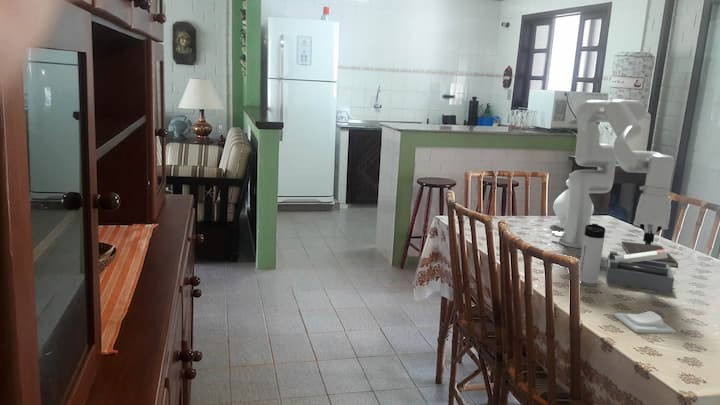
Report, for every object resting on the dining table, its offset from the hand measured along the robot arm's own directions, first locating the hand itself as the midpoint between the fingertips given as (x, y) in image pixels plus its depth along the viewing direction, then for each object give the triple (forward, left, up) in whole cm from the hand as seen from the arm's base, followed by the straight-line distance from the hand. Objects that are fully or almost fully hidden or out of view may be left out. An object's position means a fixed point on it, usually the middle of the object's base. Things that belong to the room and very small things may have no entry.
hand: (647, 243), depth 196 cm
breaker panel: (-1, 0, -13) cm, 13 cm away
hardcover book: (+4, +36, -14) cm, 39 cm away
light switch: (-1, -41, -14) cm, 44 cm away
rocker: (-1, 0, -5) cm, 5 cm away
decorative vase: (-26, +67, -14) cm, 73 cm away
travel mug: (-17, -13, -14) cm, 26 cm away
